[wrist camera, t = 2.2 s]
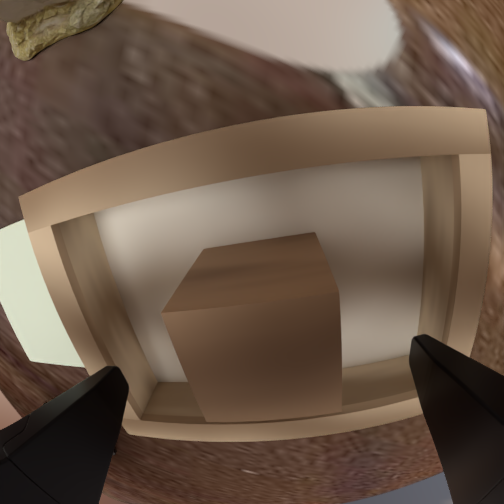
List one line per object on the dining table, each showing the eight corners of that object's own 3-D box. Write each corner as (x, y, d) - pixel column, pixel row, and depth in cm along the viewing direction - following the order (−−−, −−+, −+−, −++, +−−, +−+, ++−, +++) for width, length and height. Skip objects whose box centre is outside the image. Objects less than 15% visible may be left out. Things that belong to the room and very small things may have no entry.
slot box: (422, 346, 15) (453, 403, 11) (155, 377, 18) (128, 434, 13) (422, 116, 11) (485, 109, 6) (84, 178, 13) (18, 197, 9)
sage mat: (130, 366, 18) (128, 369, 17) (32, 358, 19) (30, 360, 19) (69, 202, 14) (65, 204, 14) (-19, 237, 15) (-22, 239, 15)
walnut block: (324, 327, 13) (341, 411, 8) (227, 339, 14) (206, 421, 9) (315, 231, 11) (338, 291, 7) (203, 249, 12) (160, 312, 7)
